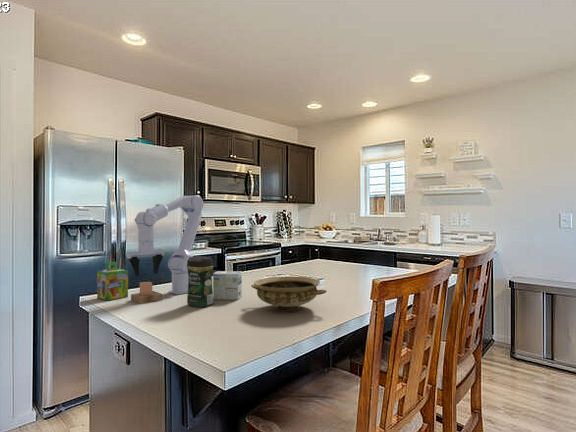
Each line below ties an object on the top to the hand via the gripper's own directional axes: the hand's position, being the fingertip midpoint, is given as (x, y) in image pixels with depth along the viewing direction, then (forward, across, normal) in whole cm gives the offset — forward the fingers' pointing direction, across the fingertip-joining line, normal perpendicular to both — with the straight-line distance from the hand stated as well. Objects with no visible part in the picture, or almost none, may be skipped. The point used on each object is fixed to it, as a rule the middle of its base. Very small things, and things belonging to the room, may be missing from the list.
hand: (146, 274), depth 148 cm
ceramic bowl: (+11, -30, +51) cm, 60 cm away
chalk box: (+11, +8, -15) cm, 20 cm away
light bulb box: (+11, -25, +21) cm, 34 cm away
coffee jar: (+11, -11, +23) cm, 28 cm away
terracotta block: (+8, 0, 0) cm, 8 cm away
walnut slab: (+11, 0, 0) cm, 11 cm away
